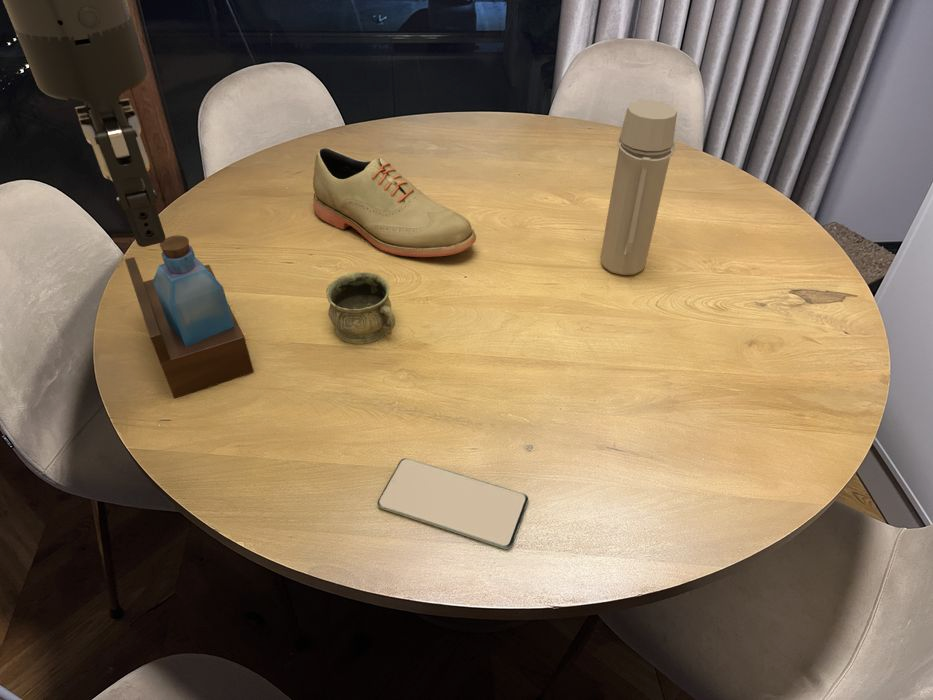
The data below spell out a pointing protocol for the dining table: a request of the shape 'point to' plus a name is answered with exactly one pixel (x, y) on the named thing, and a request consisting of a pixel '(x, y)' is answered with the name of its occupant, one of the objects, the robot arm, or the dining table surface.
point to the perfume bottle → (190, 293)
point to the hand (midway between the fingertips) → (142, 219)
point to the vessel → (360, 307)
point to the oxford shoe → (385, 207)
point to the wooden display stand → (196, 361)
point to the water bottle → (638, 185)
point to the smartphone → (454, 502)
